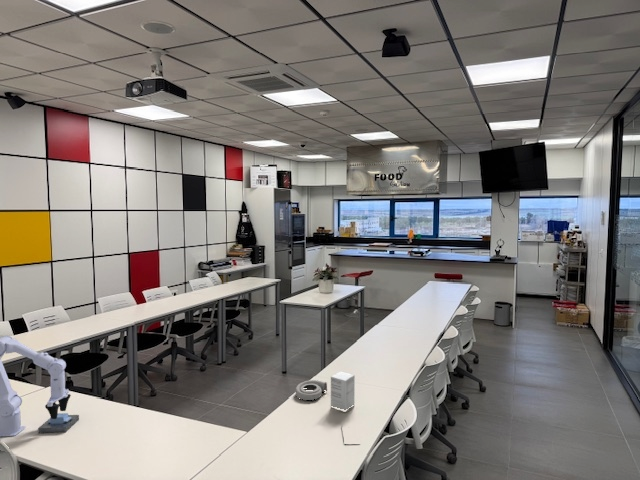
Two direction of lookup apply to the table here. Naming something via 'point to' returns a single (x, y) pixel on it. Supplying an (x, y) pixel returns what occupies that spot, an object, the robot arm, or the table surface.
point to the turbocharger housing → (310, 385)
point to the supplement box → (342, 390)
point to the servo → (60, 419)
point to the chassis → (58, 426)
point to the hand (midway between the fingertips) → (58, 414)
